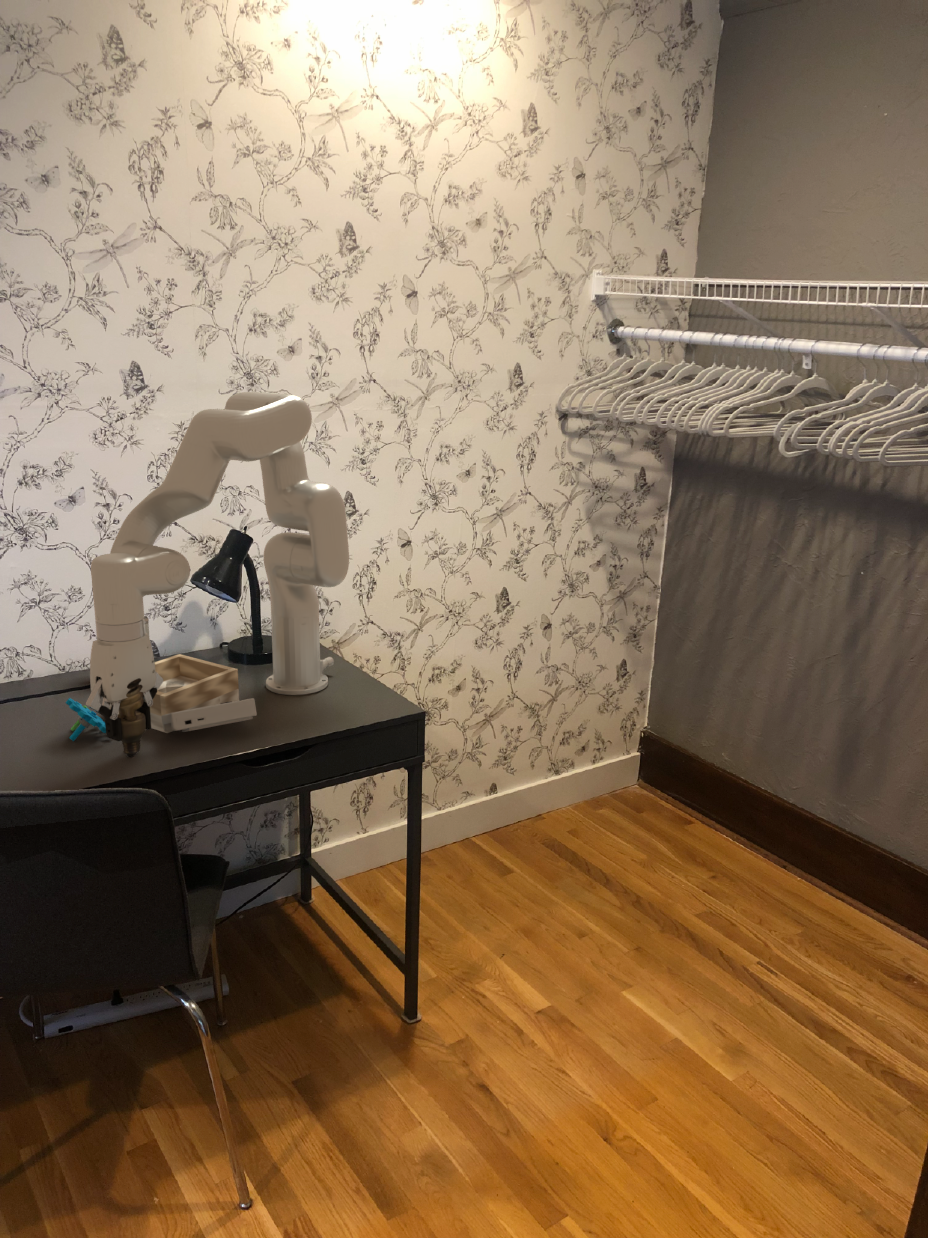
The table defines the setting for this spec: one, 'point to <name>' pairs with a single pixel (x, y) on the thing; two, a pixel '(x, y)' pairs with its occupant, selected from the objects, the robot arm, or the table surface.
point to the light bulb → (132, 719)
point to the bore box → (191, 686)
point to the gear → (84, 719)
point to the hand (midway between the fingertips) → (129, 732)
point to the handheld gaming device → (209, 716)
